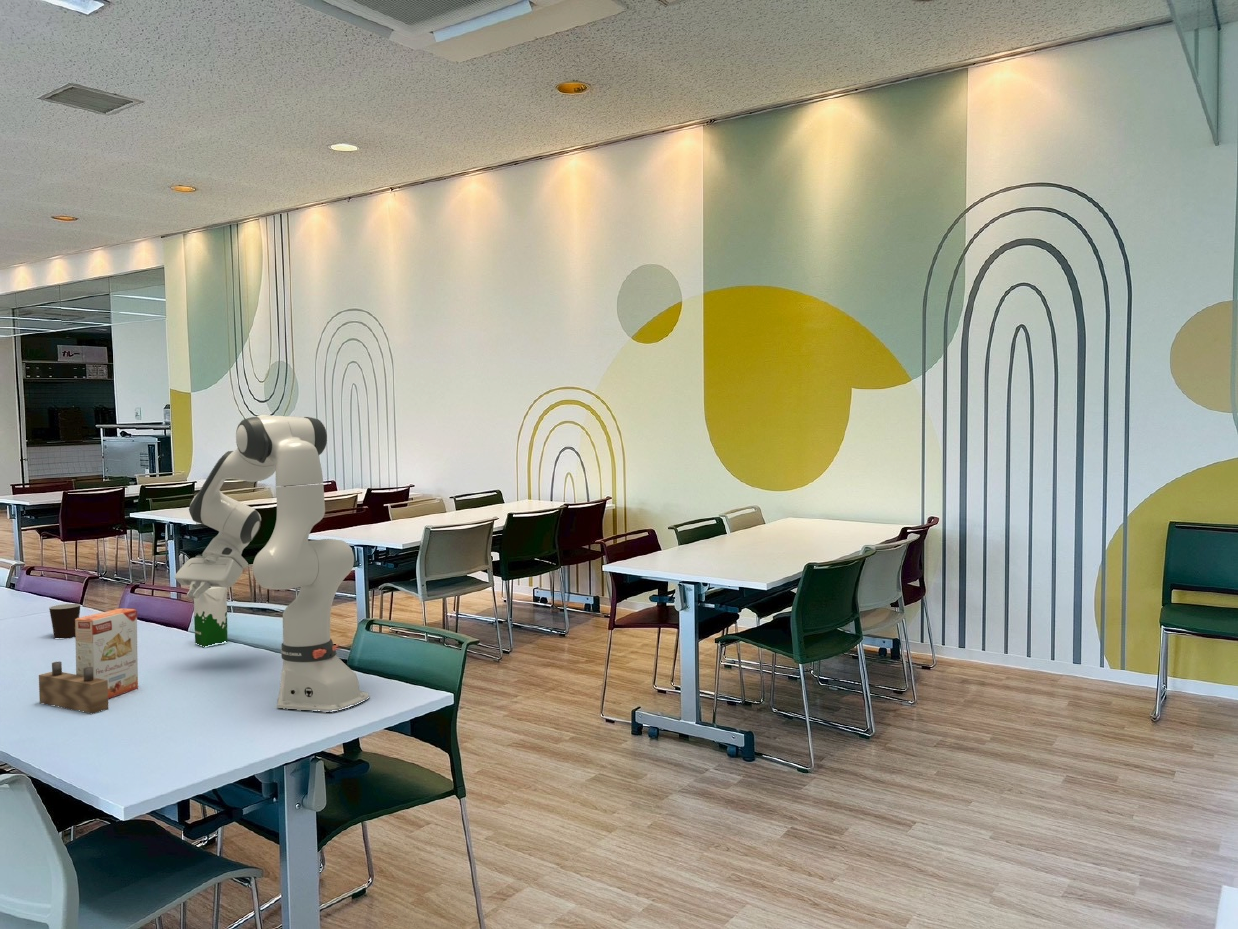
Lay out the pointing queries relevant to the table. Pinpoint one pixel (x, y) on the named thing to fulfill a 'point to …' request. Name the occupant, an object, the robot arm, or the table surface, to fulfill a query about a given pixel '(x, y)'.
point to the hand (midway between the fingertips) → (191, 597)
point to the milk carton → (211, 616)
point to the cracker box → (109, 648)
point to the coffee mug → (64, 619)
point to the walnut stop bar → (73, 690)
